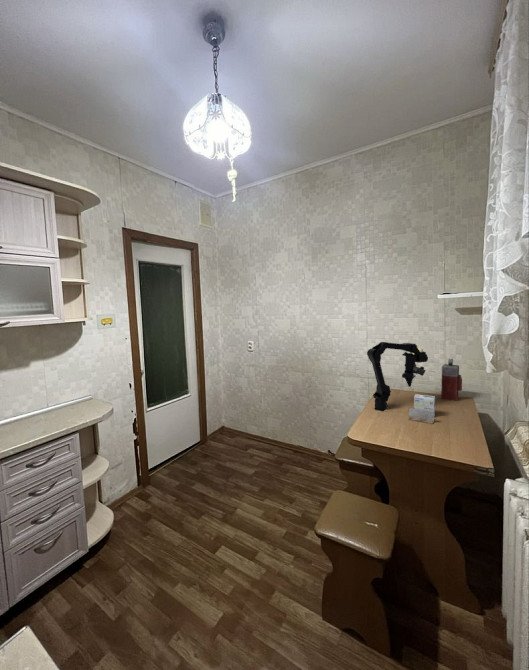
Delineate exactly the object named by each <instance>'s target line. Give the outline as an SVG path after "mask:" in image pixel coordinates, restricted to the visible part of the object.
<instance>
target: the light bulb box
mask: <svg viewBox="0 0 529 670" xmlns="http://www.w3.org/2000/svg"><path fill="white" fill-rule="evenodd" d="M413 408H415V409H421V410H428V411H434V417H435V415H436V396H435V395H424V394H418V393H417V394H414V397H413Z"/></svg>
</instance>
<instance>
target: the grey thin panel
mask: <svg viewBox="0 0 529 670" xmlns="http://www.w3.org/2000/svg"><path fill="white" fill-rule="evenodd" d="M408 409H409V411H408V413H409V418H415V419H421V420H427V421H433V422H434V423H435V416H434V411H428V410H421V409H415V408H414V407H409V408H408ZM409 418H408V419H409Z"/></svg>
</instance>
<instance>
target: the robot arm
mask: <svg viewBox="0 0 529 670" xmlns="http://www.w3.org/2000/svg"><path fill="white" fill-rule="evenodd" d="M388 349H389V350H390V349H392V350H398V351H399V350H401V351H404V353H403V354H401V355H402V356H404V357H405V361H404V362H405V364H404V372H403V373H402V374H401V378H402V379H405V381H406V383H407V386H408V388H410V387H412V383H413V379H414V378H415V377H416V375H420V376H424V374H425V373H426V369H425V367H424V366H420V367H418V366H417V364H416V363H427V362H428V360H429V357H428V354H427V352H426V351H421V350H419V347H418V345H417V344H416V343H411V342H403V343H396V342H395V343H394V342H385V341H381V342H379V343H378V344H376V345H375V346H372V347H371V348H370V349H368V350H367V351H366V355H367V357H368V360H369V361H370V363H371V364H372V368H373V372H374V376H375V381H376V384H377V385H376V389H375V390H376V391H375V392H374V393H373V395H372V396H373V398H374V407H373V410H374V409H375V411H380V412H385V410H387V409H388V401H389V398H390V396H391V393H392V390H391V388H390V387H391V386H390V385H388V384H387V383H386V381H385V377H384V373H383V369H382V365H381V360H382V355H383V354H384V352H385V351H386V350H388Z"/></svg>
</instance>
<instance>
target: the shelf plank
mask: <svg viewBox="0 0 529 670" xmlns="http://www.w3.org/2000/svg"><path fill="white" fill-rule="evenodd" d="M408 421H412V422H419V423H424V424H429V425H430V424H431V425H434V423H435V421H434V422H433V421H427V420H421V419H415V418H408Z"/></svg>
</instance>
